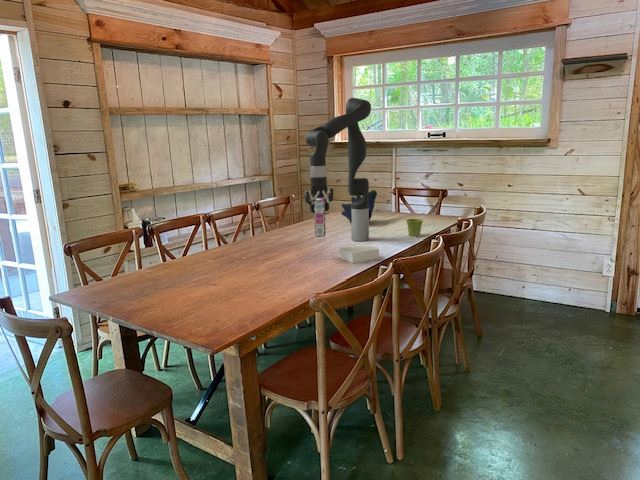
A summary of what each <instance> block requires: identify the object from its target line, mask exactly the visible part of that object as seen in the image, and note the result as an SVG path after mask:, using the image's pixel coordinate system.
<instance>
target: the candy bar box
mask: <svg viewBox="0 0 640 480" xmlns="http://www.w3.org/2000/svg"><path fill="white" fill-rule="evenodd" d="M313 205H314V213H313V214H314V235H315V238H322V237H323V238H324V237H325V238H326V231H327V230H326V229H327V227H326V211H325V200H324V199H323V198H317V199H316V201H314V204H313Z"/></svg>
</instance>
